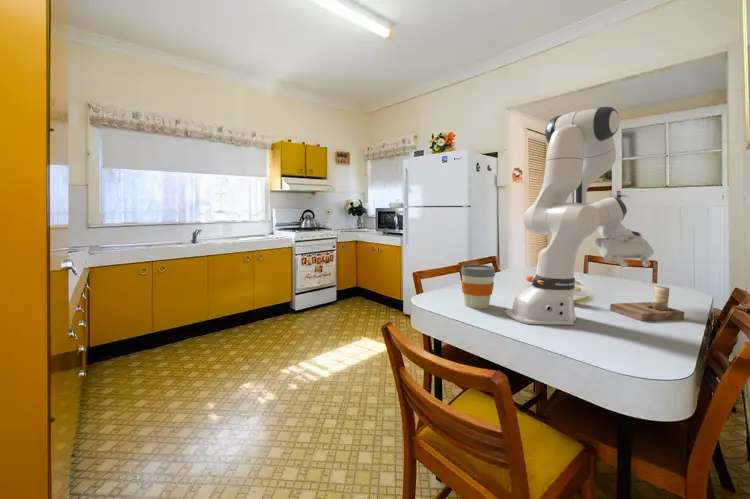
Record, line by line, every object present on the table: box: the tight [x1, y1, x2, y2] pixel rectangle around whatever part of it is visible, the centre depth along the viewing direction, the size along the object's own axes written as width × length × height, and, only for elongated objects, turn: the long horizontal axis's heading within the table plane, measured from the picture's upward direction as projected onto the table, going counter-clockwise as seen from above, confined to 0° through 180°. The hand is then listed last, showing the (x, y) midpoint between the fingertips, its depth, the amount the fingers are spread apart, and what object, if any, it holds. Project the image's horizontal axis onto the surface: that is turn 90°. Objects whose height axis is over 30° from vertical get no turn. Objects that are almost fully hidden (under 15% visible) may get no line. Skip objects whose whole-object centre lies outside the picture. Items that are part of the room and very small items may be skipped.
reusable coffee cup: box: [460, 264, 496, 309], centre depth 130 cm, size 13×13×15 cm
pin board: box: [609, 301, 685, 322], centre depth 119 cm, size 16×12×2 cm
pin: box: [652, 285, 671, 311], centre depth 117 cm, size 4×4×10 cm
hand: (636, 266), depth 127 cm, fingers open, 8 cm apart
